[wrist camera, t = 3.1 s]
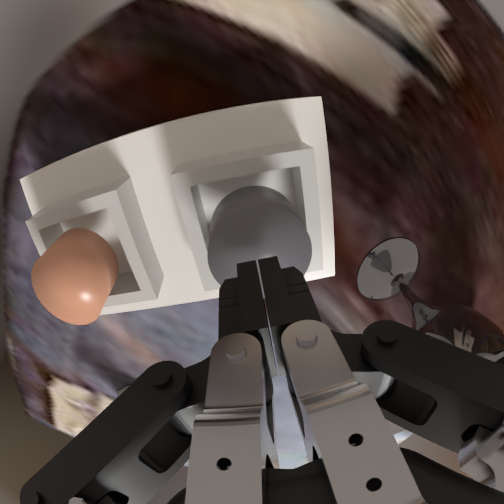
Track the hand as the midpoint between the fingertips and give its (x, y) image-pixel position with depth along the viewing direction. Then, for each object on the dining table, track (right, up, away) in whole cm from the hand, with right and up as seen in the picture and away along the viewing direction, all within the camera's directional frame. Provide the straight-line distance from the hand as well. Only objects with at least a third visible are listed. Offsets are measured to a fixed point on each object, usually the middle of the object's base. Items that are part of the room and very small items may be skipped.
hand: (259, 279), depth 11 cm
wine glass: (+13, -1, +15) cm, 19 cm away
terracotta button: (-10, 0, +4) cm, 11 cm away
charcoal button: (0, +2, +4) cm, 5 cm away
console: (-6, +5, +10) cm, 12 cm away
